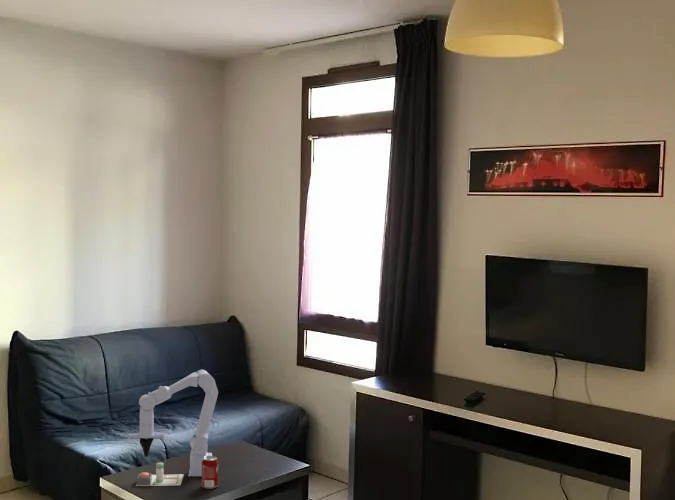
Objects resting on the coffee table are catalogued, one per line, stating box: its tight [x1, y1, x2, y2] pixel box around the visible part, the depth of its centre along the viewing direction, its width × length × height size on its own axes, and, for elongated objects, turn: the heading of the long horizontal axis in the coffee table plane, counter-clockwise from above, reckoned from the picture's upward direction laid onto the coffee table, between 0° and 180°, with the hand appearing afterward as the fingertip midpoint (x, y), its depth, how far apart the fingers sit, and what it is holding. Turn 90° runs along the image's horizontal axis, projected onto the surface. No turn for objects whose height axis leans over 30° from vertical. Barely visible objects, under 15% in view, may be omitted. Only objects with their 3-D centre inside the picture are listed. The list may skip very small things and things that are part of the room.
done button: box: [139, 471, 150, 478], centre depth 314 cm, size 4×4×4 cm
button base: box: [136, 473, 153, 485], centre depth 314 cm, size 5×5×3 cm
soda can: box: [201, 455, 219, 490], centre depth 312 cm, size 7×7×12 cm
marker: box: [155, 461, 165, 483], centre depth 316 cm, size 3×3×8 cm
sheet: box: [135, 473, 185, 487], centre depth 318 cm, size 18×13×1 cm
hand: (146, 456), depth 319 cm, fingers closed
